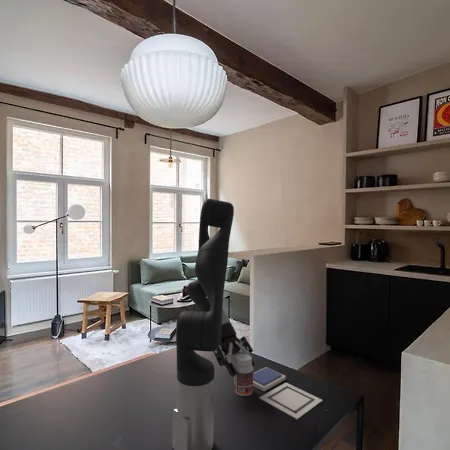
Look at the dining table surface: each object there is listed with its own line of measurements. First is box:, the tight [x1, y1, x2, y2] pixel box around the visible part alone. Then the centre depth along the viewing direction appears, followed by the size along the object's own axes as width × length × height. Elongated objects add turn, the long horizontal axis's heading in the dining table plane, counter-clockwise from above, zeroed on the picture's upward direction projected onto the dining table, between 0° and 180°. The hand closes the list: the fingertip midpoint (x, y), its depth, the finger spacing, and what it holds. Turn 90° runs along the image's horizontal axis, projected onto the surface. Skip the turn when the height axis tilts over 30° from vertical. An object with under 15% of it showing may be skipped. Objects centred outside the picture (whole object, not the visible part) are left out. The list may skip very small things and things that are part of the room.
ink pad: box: [253, 366, 287, 392], centre depth 109 cm, size 12×9×2 cm
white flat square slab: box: [258, 382, 323, 420], centre depth 98 cm, size 14×14×1 cm
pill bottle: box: [233, 353, 254, 397], centre depth 102 cm, size 6×6×11 cm
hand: (244, 371), depth 102 cm, fingers open, 8 cm apart
